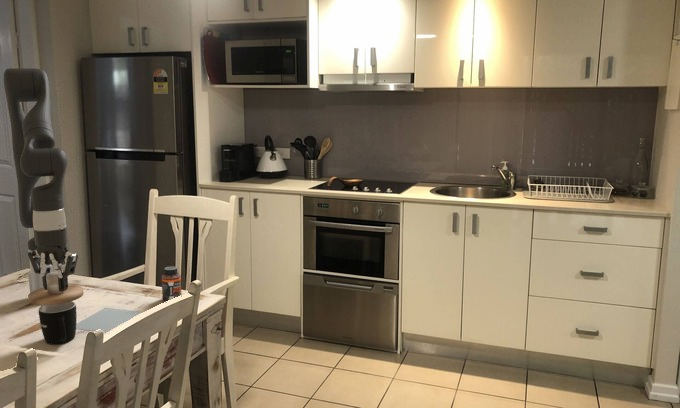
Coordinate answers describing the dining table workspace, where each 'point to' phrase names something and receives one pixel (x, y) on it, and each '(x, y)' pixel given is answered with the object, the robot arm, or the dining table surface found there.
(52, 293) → the lid
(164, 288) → the supplement bottle
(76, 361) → the dining table surface
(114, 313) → the mat
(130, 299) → the dining table surface
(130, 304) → the dining table surface
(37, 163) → the robot arm
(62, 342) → the mug
